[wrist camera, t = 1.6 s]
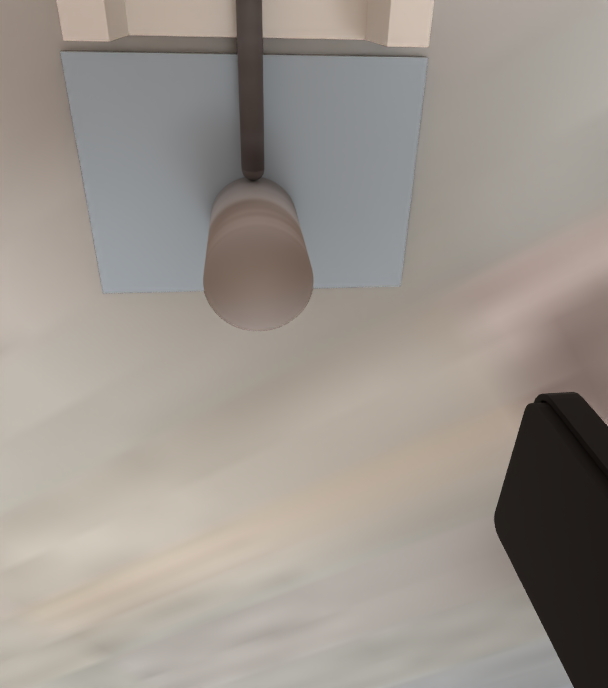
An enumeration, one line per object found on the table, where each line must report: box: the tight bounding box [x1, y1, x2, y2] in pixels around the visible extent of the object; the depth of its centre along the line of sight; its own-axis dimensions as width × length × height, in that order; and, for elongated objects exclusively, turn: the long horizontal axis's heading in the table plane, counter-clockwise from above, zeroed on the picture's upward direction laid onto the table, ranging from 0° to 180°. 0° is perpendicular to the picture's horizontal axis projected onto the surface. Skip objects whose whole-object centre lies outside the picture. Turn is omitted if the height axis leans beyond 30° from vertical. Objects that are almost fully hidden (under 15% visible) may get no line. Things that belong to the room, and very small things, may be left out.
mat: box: [60, 51, 428, 293], centre depth 21 cm, size 8×12×1 cm
